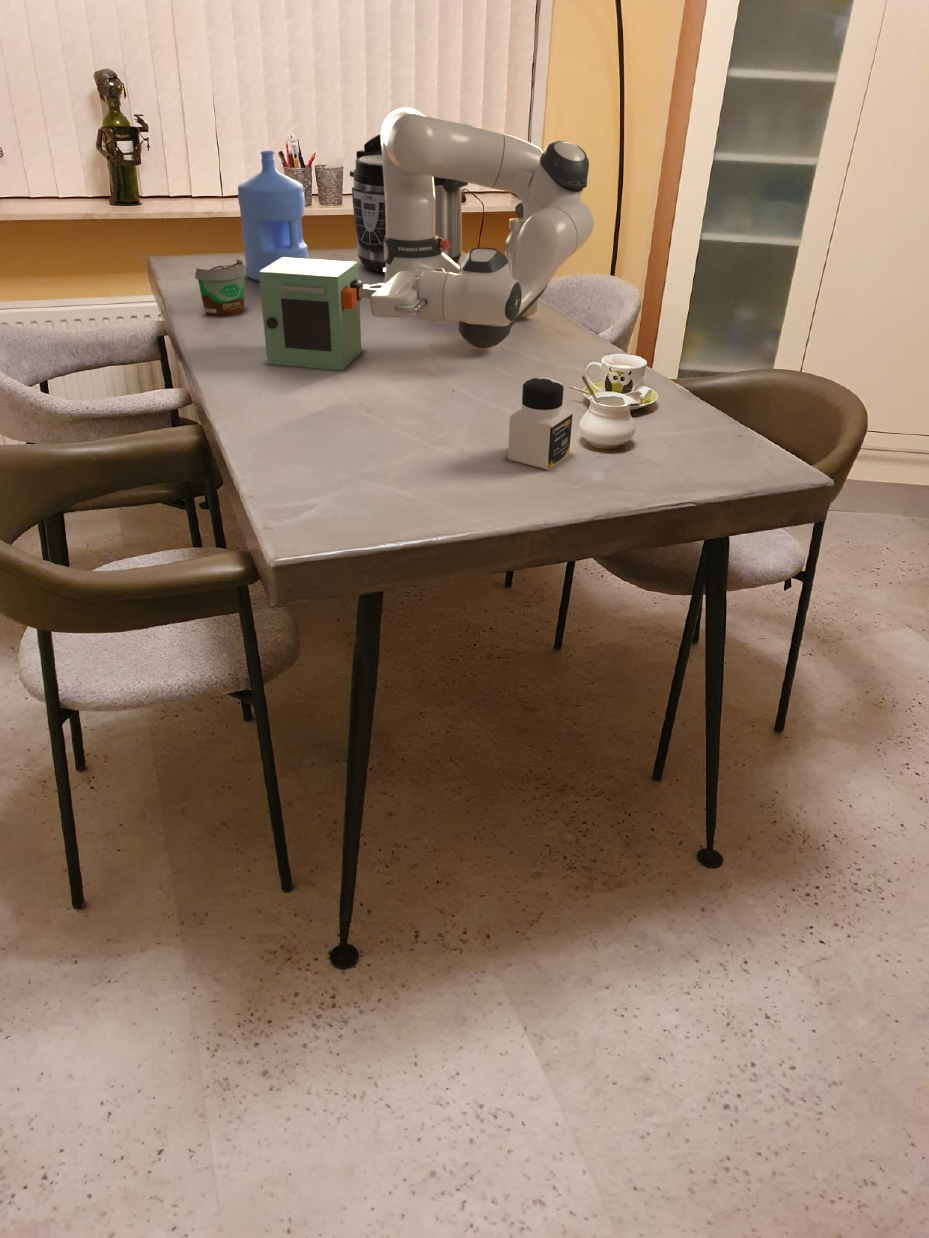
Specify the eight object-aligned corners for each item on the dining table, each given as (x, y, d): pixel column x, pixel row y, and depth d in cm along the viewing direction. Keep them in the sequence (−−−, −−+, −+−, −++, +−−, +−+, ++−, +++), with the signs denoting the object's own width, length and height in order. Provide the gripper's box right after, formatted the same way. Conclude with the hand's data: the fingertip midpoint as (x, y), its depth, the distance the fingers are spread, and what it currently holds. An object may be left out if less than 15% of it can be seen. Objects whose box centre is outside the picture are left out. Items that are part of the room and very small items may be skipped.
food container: (219, 322, 205) (213, 273, 200) (200, 316, 208) (193, 268, 203) (262, 309, 214) (257, 263, 208) (243, 305, 217) (238, 258, 211)
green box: (361, 351, 190) (357, 262, 181) (340, 372, 179) (335, 278, 170) (289, 345, 192) (282, 257, 183) (264, 366, 181) (255, 273, 172)
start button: (357, 305, 178) (356, 288, 176) (352, 309, 175) (351, 292, 174) (341, 304, 178) (340, 287, 176) (336, 308, 176) (335, 291, 174)
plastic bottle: (518, 321, 207) (512, 222, 198) (503, 317, 213) (496, 220, 203) (543, 316, 210) (539, 218, 200) (528, 312, 215) (523, 216, 205)
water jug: (232, 276, 238) (219, 152, 223) (277, 265, 249) (267, 145, 233) (278, 286, 230) (267, 158, 215) (322, 274, 241) (315, 151, 226)
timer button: (363, 297, 182) (362, 281, 181) (358, 301, 180) (357, 285, 178) (348, 296, 183) (347, 280, 181) (343, 300, 180) (342, 284, 179)
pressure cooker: (338, 257, 257) (331, 124, 240) (436, 249, 267) (436, 121, 250) (374, 283, 234) (369, 139, 217) (480, 274, 244) (483, 135, 227)
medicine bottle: (548, 470, 143) (553, 393, 137) (507, 460, 146) (510, 383, 140) (570, 455, 148) (576, 379, 142) (529, 444, 152) (533, 370, 145)
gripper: (418, 329, 171) (344, 323, 173) (444, 299, 188) (376, 294, 190) (418, 292, 168) (342, 287, 170) (444, 266, 184) (375, 261, 187)
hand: (360, 291), depth 180 cm, fingers closed, pressing on timer button
